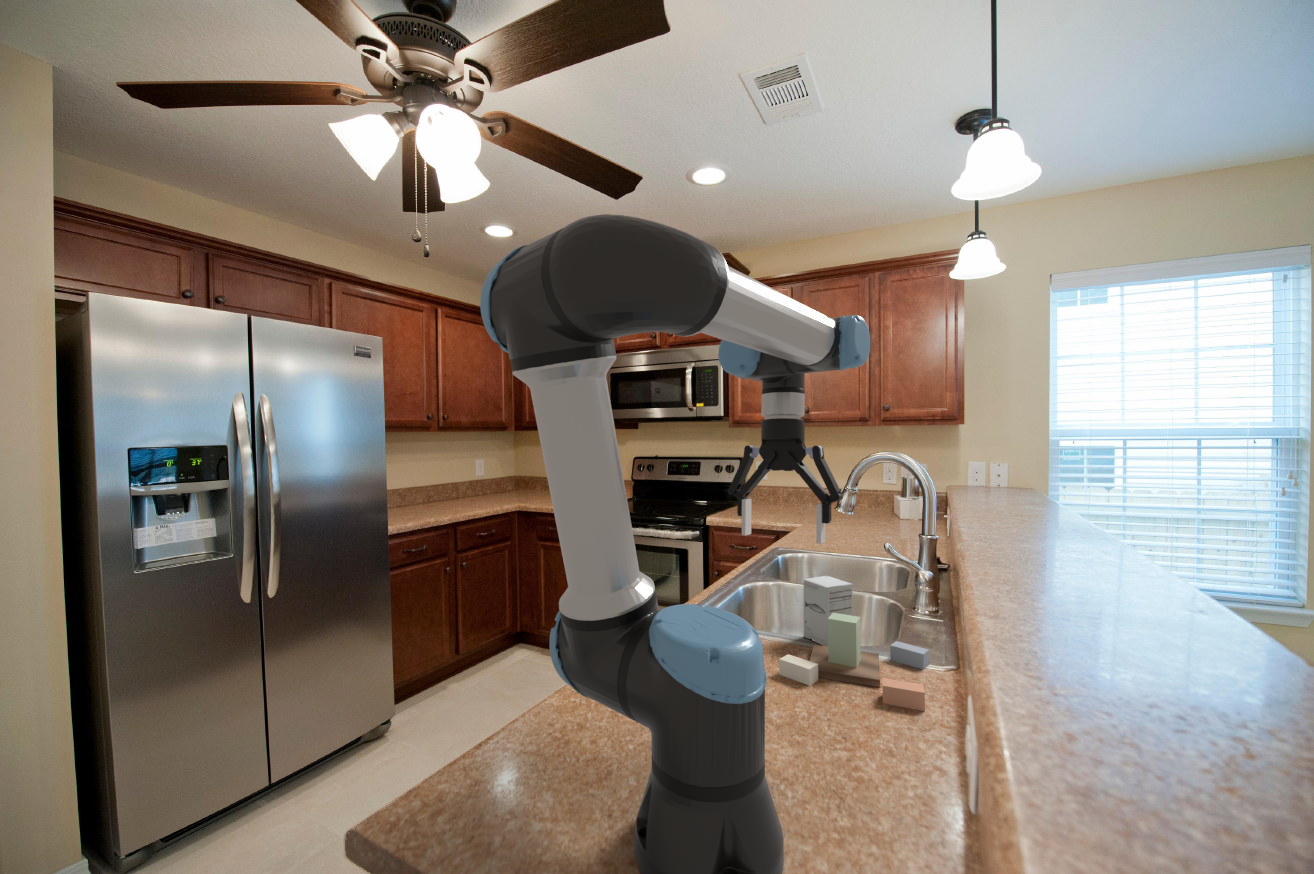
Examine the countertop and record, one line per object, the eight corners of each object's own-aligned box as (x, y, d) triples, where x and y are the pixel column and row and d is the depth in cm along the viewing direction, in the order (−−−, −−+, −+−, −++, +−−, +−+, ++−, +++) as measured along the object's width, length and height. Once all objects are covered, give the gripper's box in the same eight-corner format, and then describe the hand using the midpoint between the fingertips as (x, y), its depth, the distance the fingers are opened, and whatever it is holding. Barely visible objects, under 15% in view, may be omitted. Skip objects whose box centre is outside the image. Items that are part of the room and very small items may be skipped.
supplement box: (802, 637, 110) (801, 578, 111) (828, 631, 113) (828, 574, 114) (827, 649, 104) (826, 586, 104) (854, 643, 107) (853, 582, 107)
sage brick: (856, 667, 92) (856, 623, 92) (828, 661, 95) (827, 618, 95) (860, 659, 96) (860, 616, 96) (833, 654, 98) (832, 612, 98)
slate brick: (929, 665, 96) (929, 649, 96) (923, 670, 94) (923, 654, 94) (896, 656, 101) (896, 640, 101) (890, 660, 99) (890, 645, 99)
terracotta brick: (923, 703, 82) (923, 684, 82) (925, 712, 80) (924, 692, 80) (883, 696, 85) (882, 677, 85) (882, 704, 82) (882, 685, 82)
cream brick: (818, 681, 90) (818, 663, 90) (809, 686, 88) (809, 669, 88) (788, 670, 94) (788, 654, 95) (779, 675, 92) (779, 658, 92)
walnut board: (880, 686, 87) (880, 679, 87) (807, 675, 92) (807, 668, 92) (878, 659, 98) (878, 653, 98) (814, 650, 103) (814, 644, 103)
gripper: (861, 418, 87) (861, 543, 87) (728, 421, 101) (727, 529, 100) (850, 414, 81) (850, 549, 80) (710, 419, 95) (709, 533, 94)
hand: (782, 538), depth 90 cm, fingers open, 13 cm apart
